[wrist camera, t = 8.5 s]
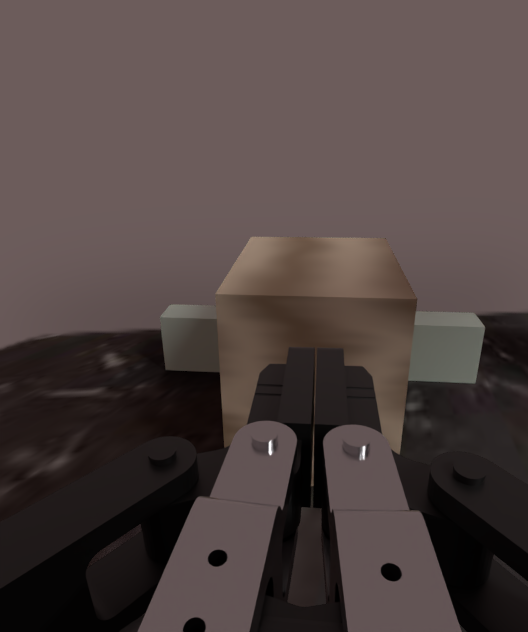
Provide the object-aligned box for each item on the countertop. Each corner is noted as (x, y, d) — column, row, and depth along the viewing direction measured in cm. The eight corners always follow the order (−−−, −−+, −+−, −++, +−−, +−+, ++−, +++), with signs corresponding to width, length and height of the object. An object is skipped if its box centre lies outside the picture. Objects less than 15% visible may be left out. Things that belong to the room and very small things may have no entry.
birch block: (373, 380, 40) (385, 238, 35) (395, 492, 28) (417, 299, 23) (255, 375, 41) (251, 236, 36) (226, 480, 29) (215, 294, 24)
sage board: (465, 366, 41) (474, 311, 39) (475, 383, 39) (485, 325, 37) (175, 354, 44) (170, 303, 42) (165, 370, 42) (159, 315, 40)
